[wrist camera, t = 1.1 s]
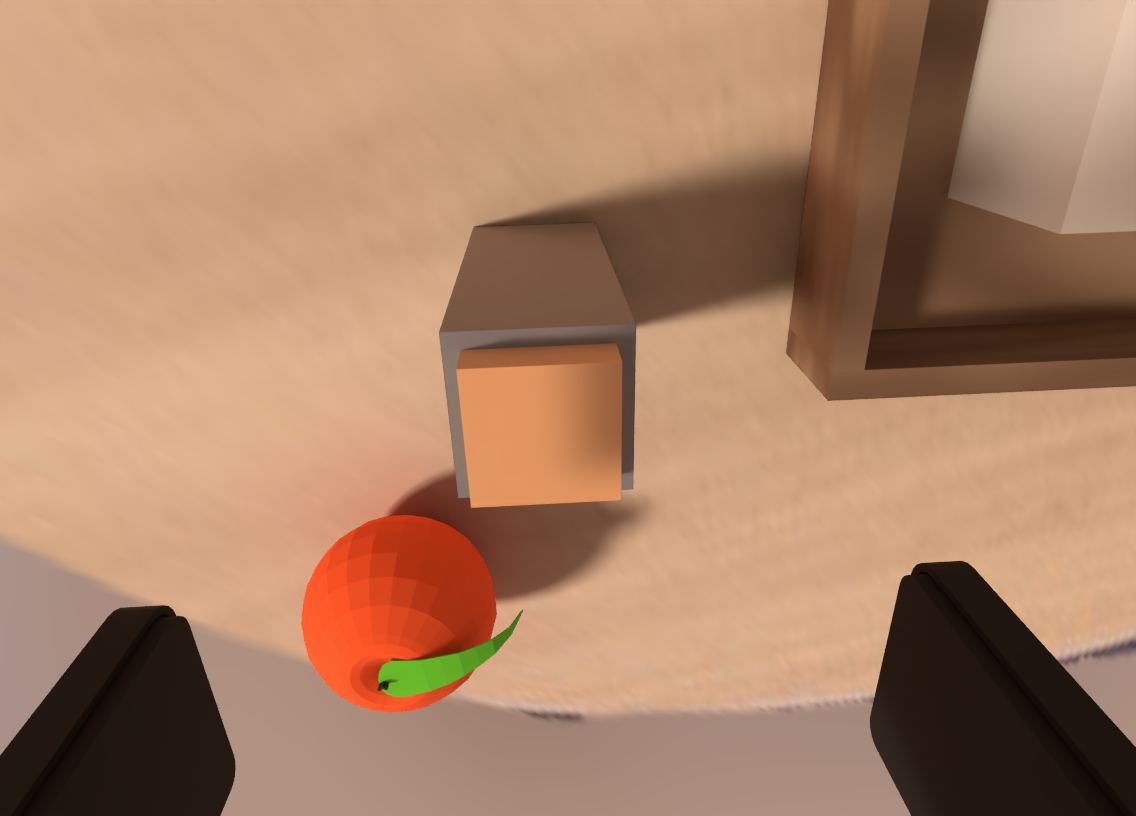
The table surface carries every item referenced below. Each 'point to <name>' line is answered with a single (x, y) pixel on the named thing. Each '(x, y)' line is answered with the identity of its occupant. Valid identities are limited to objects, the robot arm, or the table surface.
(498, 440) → the plug
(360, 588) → the clementine
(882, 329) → the crate
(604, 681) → the table surface
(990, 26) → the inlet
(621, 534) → the table surface
